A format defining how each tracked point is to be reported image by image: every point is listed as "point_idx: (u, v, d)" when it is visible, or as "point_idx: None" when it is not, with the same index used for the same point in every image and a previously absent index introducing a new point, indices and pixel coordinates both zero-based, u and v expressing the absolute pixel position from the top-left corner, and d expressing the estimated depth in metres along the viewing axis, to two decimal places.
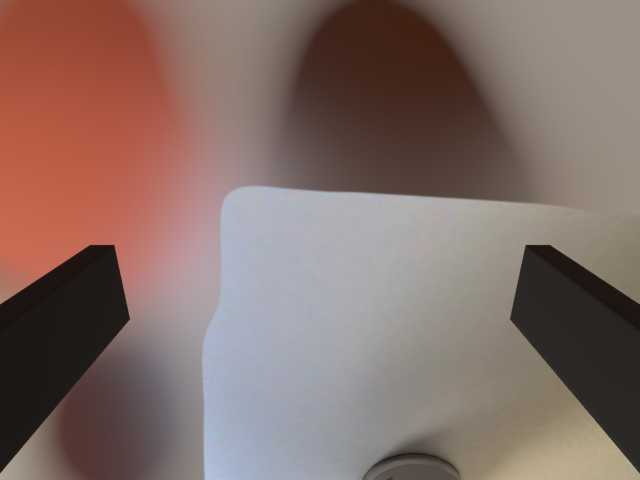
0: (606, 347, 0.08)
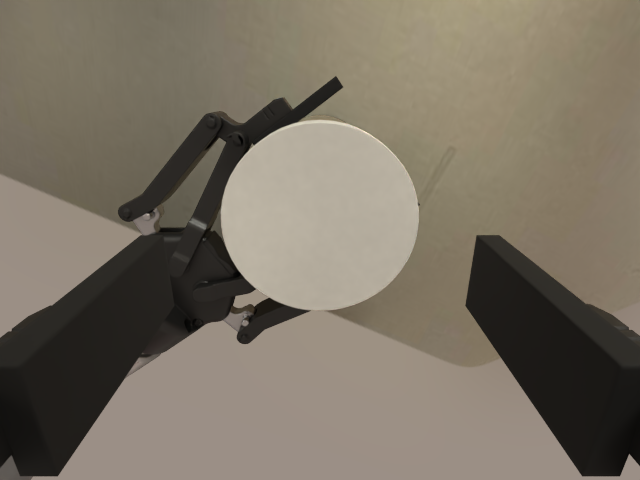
0: (532, 325, 0.09)
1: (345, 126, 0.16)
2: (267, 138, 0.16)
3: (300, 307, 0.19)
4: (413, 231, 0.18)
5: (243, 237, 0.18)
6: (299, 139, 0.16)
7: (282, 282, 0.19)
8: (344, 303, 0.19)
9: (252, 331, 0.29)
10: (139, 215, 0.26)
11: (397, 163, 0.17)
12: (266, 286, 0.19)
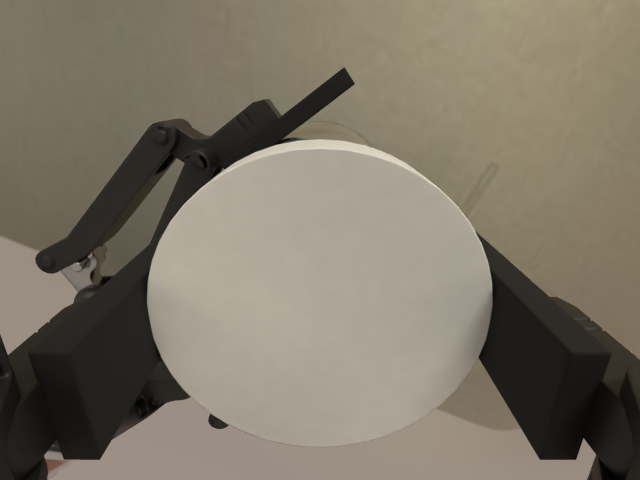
0: (500, 317, 0.10)
1: (367, 154, 0.09)
2: (223, 176, 0.09)
3: (288, 442, 0.12)
4: (481, 331, 0.10)
5: (189, 340, 0.10)
6: (282, 178, 0.09)
7: (257, 407, 0.11)
8: (360, 437, 0.12)
9: None
10: (66, 265, 0.18)
11: (460, 220, 0.09)
12: (231, 412, 0.11)
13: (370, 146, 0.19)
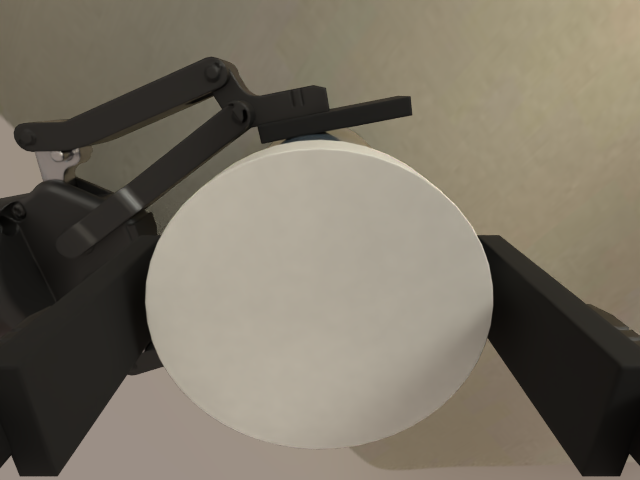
0: (533, 325, 0.09)
1: (157, 246, 0.09)
2: (161, 358, 0.11)
3: (457, 386, 0.11)
4: (381, 168, 0.09)
5: (307, 426, 0.12)
6: (168, 317, 0.10)
7: (400, 398, 0.11)
8: (482, 320, 0.10)
9: (144, 363, 0.21)
10: (46, 149, 0.17)
11: (236, 173, 0.09)
12: (399, 419, 0.11)
13: None
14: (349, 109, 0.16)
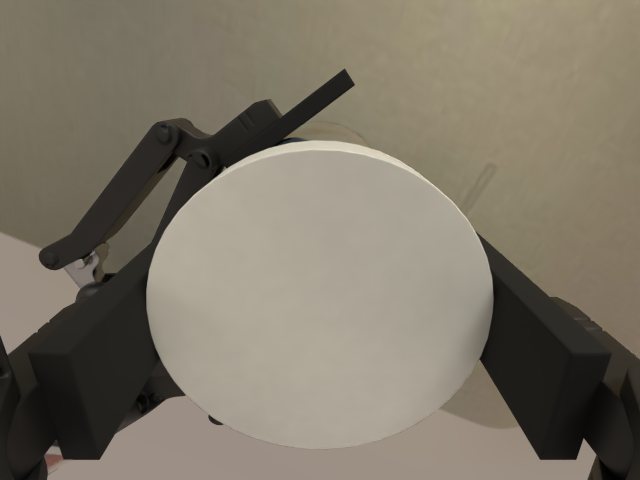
0: (500, 317, 0.10)
1: (148, 313, 0.10)
2: (201, 406, 0.11)
3: (486, 330, 0.10)
4: (298, 159, 0.09)
5: (359, 421, 0.11)
6: (189, 370, 0.11)
7: (435, 363, 0.11)
8: (475, 257, 0.09)
9: None
10: (69, 261, 0.19)
11: (177, 222, 0.09)
12: (445, 384, 0.11)
13: (369, 146, 0.19)
14: (294, 108, 0.16)
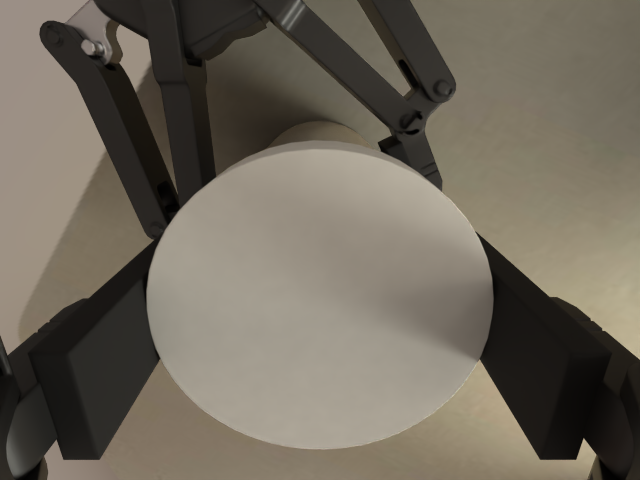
0: (500, 317, 0.10)
1: (148, 313, 0.10)
2: (201, 406, 0.11)
3: (486, 330, 0.10)
4: (298, 159, 0.09)
5: (359, 421, 0.11)
6: (189, 370, 0.11)
7: (435, 363, 0.11)
8: (475, 257, 0.09)
9: (70, 57, 0.16)
10: None
11: (177, 222, 0.09)
12: (445, 384, 0.11)
13: None
14: None
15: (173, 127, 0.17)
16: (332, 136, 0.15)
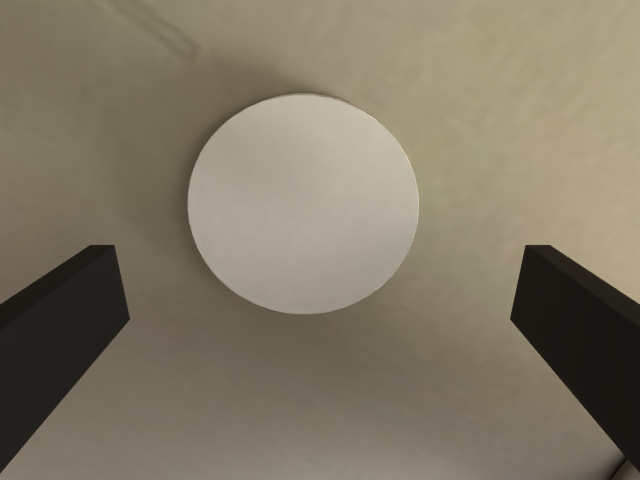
0: (606, 347, 0.08)
1: (188, 211, 0.15)
2: (223, 281, 0.16)
3: (415, 221, 0.15)
4: (288, 101, 0.13)
5: (333, 291, 0.17)
6: (215, 253, 0.16)
7: (382, 246, 0.16)
8: (404, 168, 0.15)
9: None
10: None
11: (209, 145, 0.14)
12: (390, 262, 0.16)
13: None
14: None
15: None
16: None
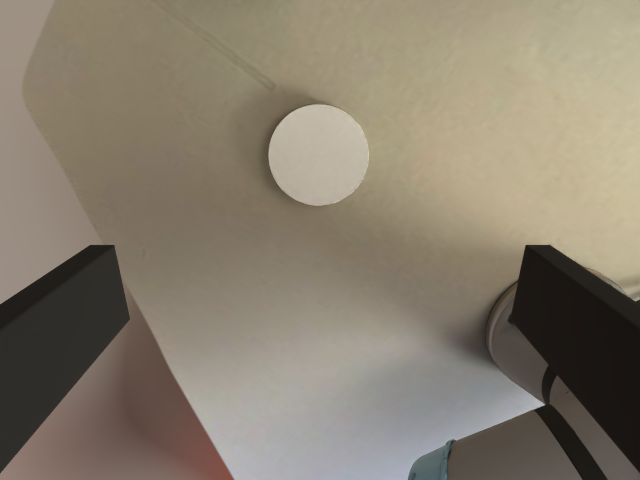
0: (606, 347, 0.08)
1: (268, 154, 0.35)
2: (281, 188, 0.36)
3: (367, 159, 0.35)
4: (312, 107, 0.33)
5: (331, 194, 0.36)
6: (279, 174, 0.36)
7: (353, 171, 0.35)
8: (361, 135, 0.34)
9: None
10: None
11: (280, 125, 0.34)
12: (357, 179, 0.36)
13: None
14: None
15: None
16: None
